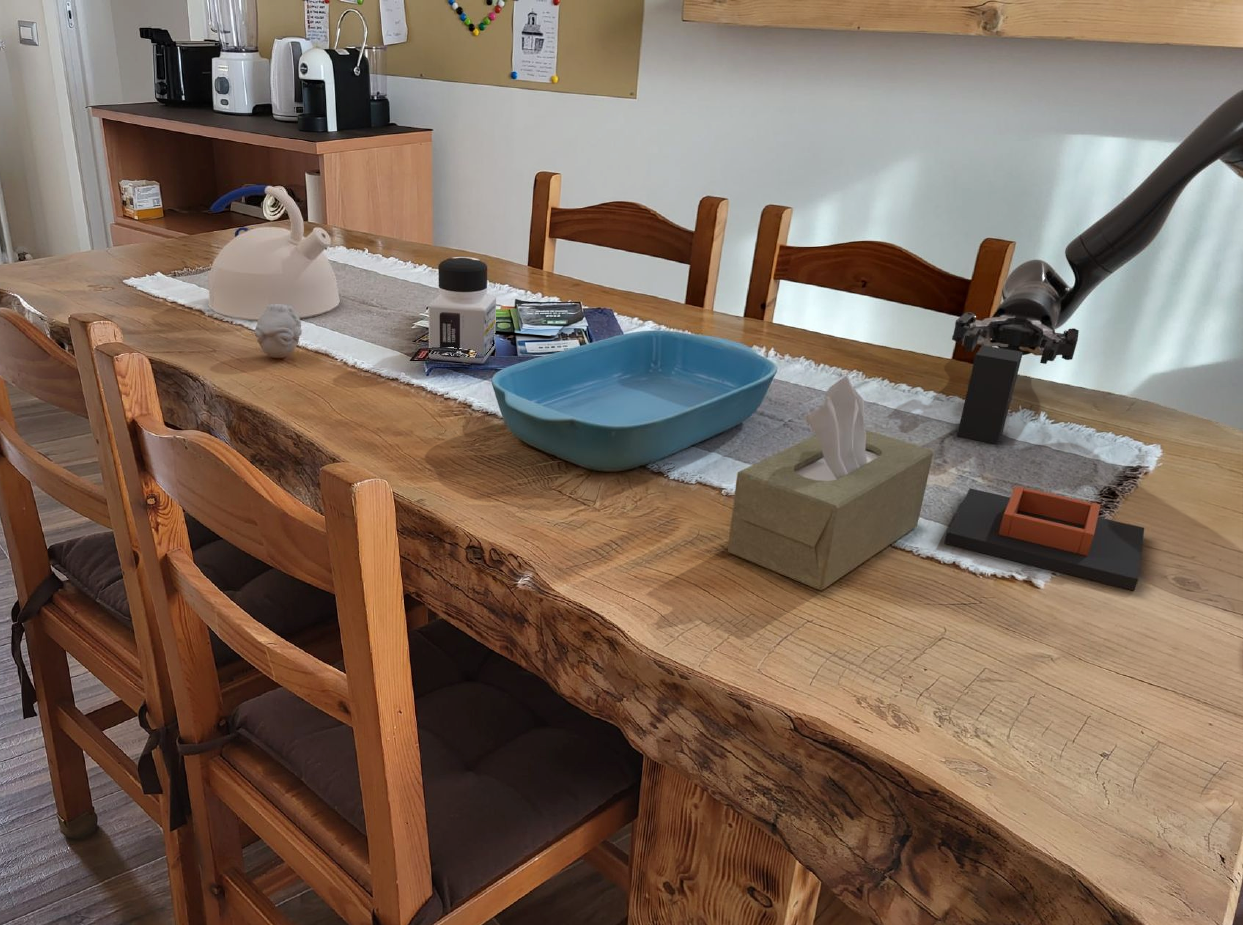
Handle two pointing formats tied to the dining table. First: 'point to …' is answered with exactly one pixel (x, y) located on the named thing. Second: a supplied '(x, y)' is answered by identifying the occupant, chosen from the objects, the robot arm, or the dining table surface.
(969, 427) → the black rectangular block
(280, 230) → the kettle
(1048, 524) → the base mat
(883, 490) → the tissue box
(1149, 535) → the dining table surface
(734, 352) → the casserole dish
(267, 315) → the grey rounded lump
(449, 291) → the container
